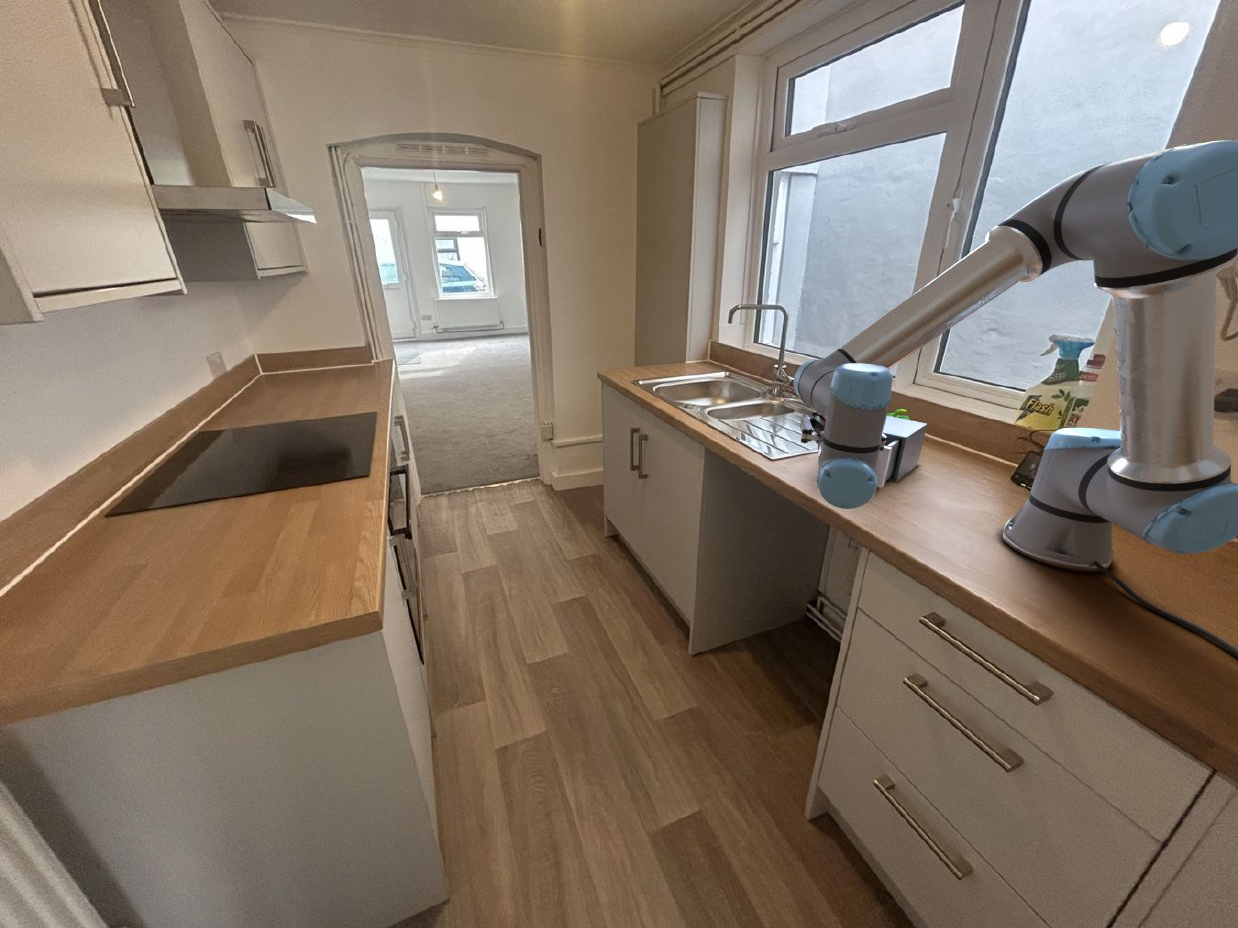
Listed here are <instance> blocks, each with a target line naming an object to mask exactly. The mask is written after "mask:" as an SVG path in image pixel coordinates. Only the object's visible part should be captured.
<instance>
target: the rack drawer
mask: <svg viewBox="0 0 1238 928" xmlns="http://www.w3.org/2000/svg"><path fill="white" fill-rule="evenodd" d="M901 443H902V440H901V439H896V438H892V437H887V436H886V442H885V447H884V450H883V451H879V456H878V461H877V466H876V471H875V472H876V476H877V487H876V488H881V489H882V488H884V487H885V483H886V481H888V480H887V479H888V478H890V477H891V476H892V475H894V474H895V470H896V465H897V461H898V457H899V452H900V448H901Z"/></svg>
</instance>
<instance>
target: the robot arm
mask: <svg viewBox="0 0 1238 928" xmlns="http://www.w3.org/2000/svg"><path fill="white" fill-rule="evenodd" d="M1237 258H1238V140H1232V139H1222V140H1215V141H1214V140H1213V141H1209V142H1196V143H1185V144H1181V145H1179V146H1174V147H1170V148H1166V149H1162V150H1158V151H1153V152H1150V153H1146V154H1141V155H1138V156H1133V157H1129V158H1126V159H1121V160H1117V161H1113V162H1112V161H1111V162H1106V163H1101V164H1098V165H1094V166H1091V167H1089V168H1086V169H1084V170H1082V171H1081V170H1080V172H1077V173H1075V174H1073V175H1071V176H1069V177H1068V178H1065V179H1064V180H1062V181H1060V182H1058V183H1057V184H1055V185H1053V186H1052V187H1050V188H1049V189H1048V190H1046V191H1044V192H1043V193H1041V194H1039V195H1038V196H1036V197H1035V198H1033V199H1032V200H1031V201H1029V202H1028V203H1026V204H1025V205H1024V206H1022V207H1021V208H1019V209H1018V210H1017V211H1015V212H1014V213H1012V214H1011V215H1009V216H1008V217H1006V218H1005V219H1004V220H1002V221H1001V222H1000V223H999V224H996V225H995V226H994V227H993V228H992V229H991V230H989V231H988V232H987V235H986V237H985V242H984V243H982V244H981V245H980V246H979V247H977V248H976V249H974V250H972V251H971V252H970V253H968V254H967V255H966V256H965V257H963V258H962V259H961V260H959V261H958V262H956V263H955V264H953V265H952V266H951V267H950V268H948V269H947V270H945V271H944V272H942V273H941V274H940V275H938V276H937V277H936V278H934V279H932V281H930V282H929V283H927V284H926V285H924V286H923V287H922V288H920V289H919V290H918V291H916V292H915V293H913V294H912V295H911V296H909V297H908V298H906V299H905V300H904V301H902V302H901V303H899V304H898V305H897V306H896V307H894V308H893V309H891V310H890V311H889V312H887V313H886V314H885V315H883V316H882V317H880V318H879V319H878V320H876V321H875V322H873V323H872V324H870V325H869V326H867V328H865V329H864V330H862V331H861V332H859V333H858V334H856V336H853V338H851V339H850V340H848V341H847V342H846V343H844V344H843V345H842V346H840V347H838V349H836V350H835V351H833V352H832V353H830V354H829V355H827V356H825V357H824V358H813V359H811V360H808V361H805V362H804V363H803V364H801V365H800V366H798V368H797V370H796V372H795V374H794V376H793V380H792V381H793V384H792V385H793V389H794V392H795V394H796V395H797V396H798V397H799V399H800V400H801V402H802V403H804V404H805V405H806V406H807V407H810V408H811V409H813V411H811V413H810V414H811V415H810V417H809V415H807V414H803V415H801V417H800V424H799V429H800V432H801V437H800V443H802V444H807V443H810V442H811V443H812V442H813V441H815V443H816V444H817V446H818V445H819V450H818V468H817V469H818V471H817V477H816V483H817V487H818V491H819V494H820V495H821V497H822V498H823V499H824V501H825V502H826V503H828V504H829V505H831V506H833V507H835V508H839V509H843V510H851V509H852V510H853V509H857V508H860V507H863V506H864V505H867V504H868V503H869V502H870V501H871V500H872V499H873V498H874V496H875V494H876V492H877V488H878V487H877V476H876V472H875V471H876V466H877V461H878V456H879V451H883V450H884V447H885V442H886V436H885V435H884V434H883V429H884V425H885V420H886V416H887V413H889V412H888V411H889V407H890V403H891V401H892V397H893V396H892V388H893V380H894V375H893V374H894V373H893V372H892V371H891V369H892V368H894V367H896V366H897V365H898V364H900V363H901V362H903V361H904V360H906V359H908V357H910V356H913V354H915V353H916V352H918V351H919V350H921V349H922V348H923V347H925V346H926V345H929V343H931V342H932V341H934V340H935V339H937V338H938V337H940V336H942V334H944V333H946V332H947V331H948V330H950V329H951V328H953V327H954V326H956V325H958V324H959V323H960V322H962V321H963V320H965V319H967V318H968V317H969V316H970V315H972V314H973V313H975V312H976V311H978V310H980V309H981V308H982V307H983V306H985V305H986V304H987V305H988V303H989V302H991V301H993V300H995V298H997V297H999V296H1000V295H1002V294H1003V293H1005V292H1006V291H1007V290H1009V289H1010V288H1012V287H1013V286H1015V285H1016V284H1017V283H1030V282H1032V281H1035V280H1036V279H1038V278H1039V277H1041V276H1042V275H1044V274H1045V273H1047V272H1048V271H1051V270H1052V269H1054V268H1057V267H1059V266H1063V265H1066V264H1070V263H1073V262H1078V261H1084V262H1085V261H1092V263H1093V264H1092V267H1093V279H1094V286H1095V288H1096V289H1098V290H1100V291H1103V292H1105V293H1108V294H1110V296H1111V298H1112V316H1113V317H1112V318H1113V334H1114V350H1115V366H1116V368H1115V369H1116V370H1115V371H1116V385H1117V399H1118V400H1117V402H1118V419H1119V430H1114V429H1113V430H1112V429H1103V428H1090V427H1065V428H1060V429H1057V430H1056V431H1054V432H1052V433H1051V435H1050V437H1049V439H1048V442H1047V444H1046V446H1045V447H1044V448H1043V452H1042V455H1041V457H1040V458H1041V459H1040V461H1039V465H1038V468H1037V471H1036V474H1035V477H1034V480H1033V483H1032V486H1031V489H1030V492H1029V495H1028V498H1027V500H1026V502H1025V503H1024V505H1023V506H1021V508H1020V509H1019V510H1018V511H1016V512H1017V513H1015V514H1014V516H1013V517H1010V518H1009V519H1008V521H1006V523H1005V525H1004V527H1003V533H1002V538H1003V540H1004V541H1005V543H1006V544H1007V545H1008V546H1009V547H1010V548H1012V549H1013V550H1015V551H1017V553H1020V554H1021V555H1023V556H1026V557H1028V558H1030V559H1033V560H1035V561H1037V562H1040V563H1043V564H1046V565H1049V566H1053V567H1056V568H1060V569H1065V570H1069V571H1077V572H1085V573H1086V572H1091V573H1093V572H1102V573H1103V574H1104V575H1106V576H1107V577H1108V578H1109V579H1111V580H1112V581H1113V582H1115V584H1117V585H1118V586H1119V587H1120V588H1121V589H1122V590H1123V591H1125V593H1127V594H1128V595H1129V596H1131V597H1132V598H1133V599H1135V600H1136V601H1137V602H1138V603H1140V604H1142V605H1143V606H1145V607H1147V608H1149V609H1150V610H1153V611H1154V612H1156V613H1158V614H1160V615H1162V616H1164V617H1165V618H1167V619H1170V620H1173V621H1175V622H1177V623H1179V624H1181V625H1183V626H1185V627H1187V628H1189V629H1191V630H1193V631H1196V632H1197V633H1200V634H1201V635H1203V636H1205V637H1206V638H1208V639H1210V640H1211V641H1213V642H1215V643H1216V644H1218V645H1220V646H1221V647H1223V648H1224V649H1226V650H1227V651H1229V652H1230V653H1232V654H1233V655H1235V656H1236V657H1238V649H1237V648H1236V647H1234V646H1233V645H1231V644H1230V643H1228V642H1227V641H1225V640H1223V639H1222V638H1220V637H1218V636H1216V635H1215V634H1213V633H1211V632H1210V631H1208V630H1206V629H1204V628H1203V627H1201V626H1198V625H1197V624H1194V623H1192V622H1190V621H1188V620H1186V619H1184V618H1182V617H1179V616H1177V615H1175V614H1173V613H1171V612H1169V611H1167V610H1165V609H1162V608H1160V607H1159V606H1157V605H1155V604H1153V603H1151V602H1150V601H1148V600H1147V599H1145V598H1143V597H1141V596H1140V595H1139V594H1137V593H1136V592H1135V591H1134V590H1132V588H1130V586H1128V585H1127V584H1126V583H1125V582H1124V581H1122V580H1121V579H1120V578H1118V577H1117V576H1116V575H1114V573H1112V572H1111V571H1109V569H1108V568H1109V567H1110V565H1111V563H1112V562H1113V558H1114V549H1113V548H1114V547H1113V545H1114V544H1113V543H1114V541H1113V525H1115V526H1116V527H1118V528H1120V529H1122V530H1124V531H1126V532H1127V533H1129V534H1131V535H1133V536H1135V537H1136V538H1138V539H1140V540H1141V541H1143V542H1144V543H1147V544H1149V545H1153V546H1156V547H1158V548H1160V549H1162V550H1164V551H1167V552H1168V553H1172V554H1177V555H1197V554H1201V553H1205V552H1209V551H1212V550H1216V549H1217V548H1219V547H1222V546H1224V545H1225V544H1228V543H1229V542H1231V541H1232V540H1234V539H1235V538H1237V537H1238V483H1234V482H1233V480H1232V460H1231V456H1230V454H1229V452H1227V451H1226V450H1225V449H1223V448H1222V447H1219V446H1217V445H1214V433H1215V432H1214V430H1215V429H1214V427H1215V426H1214V425H1215V369H1216V367H1215V366H1216V365H1215V364H1216V363H1215V362H1216V359H1215V358H1216V312H1217V311H1216V310H1217V307H1216V306H1217V305H1216V304H1217V303H1216V302H1217V275H1218V274H1219V273H1220V272H1221V271H1222V270H1224V269H1225V268H1227V266H1229V265H1230V264H1231V263H1233V262H1234V261H1235V260H1236V259H1237ZM822 416H823V417H824V418H825V419H826V422H825V421H824V420H822Z"/></svg>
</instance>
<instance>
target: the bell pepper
mask: <svg viewBox="0 0 1238 928" xmlns="http://www.w3.org/2000/svg"><path fill="white" fill-rule="evenodd" d="M907 411H908V410H907V409H900V408H899V409H897V410H896V411H895V412H891V413H889V412H887V416H890V417H895V418H900V419H906V420H910V417H909V415H905V414H906V412H907ZM900 413H903V414H901V415H899V414H900Z"/></svg>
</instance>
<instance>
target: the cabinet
mask: <svg viewBox="0 0 1238 928" xmlns="http://www.w3.org/2000/svg"><path fill="white" fill-rule="evenodd" d="M927 428H928V423H926V422H920V421H916V420H911V419H909V420H906V419H900V418H895V417H890V416H886V420H885V425H884V429H883V434H884V435H885V436H887V437H892V438H896V439H901V440H902V443H901V448H900V452H899V457H898V461H897V465H896V470H895V474H894V475H892V476H891V477H890V478H888V479H887V480H886V481H890V482H895V483H897V482H898V481H900V480H901V479H902V478H903V477H905V476H906V475H907V474H908V473H910V472H911V471H912V470H913V469H915V468H917V466H918V464H919V461H920V456H921V451H922V449H923V444H924V439H925V435H926V431H927Z"/></svg>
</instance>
